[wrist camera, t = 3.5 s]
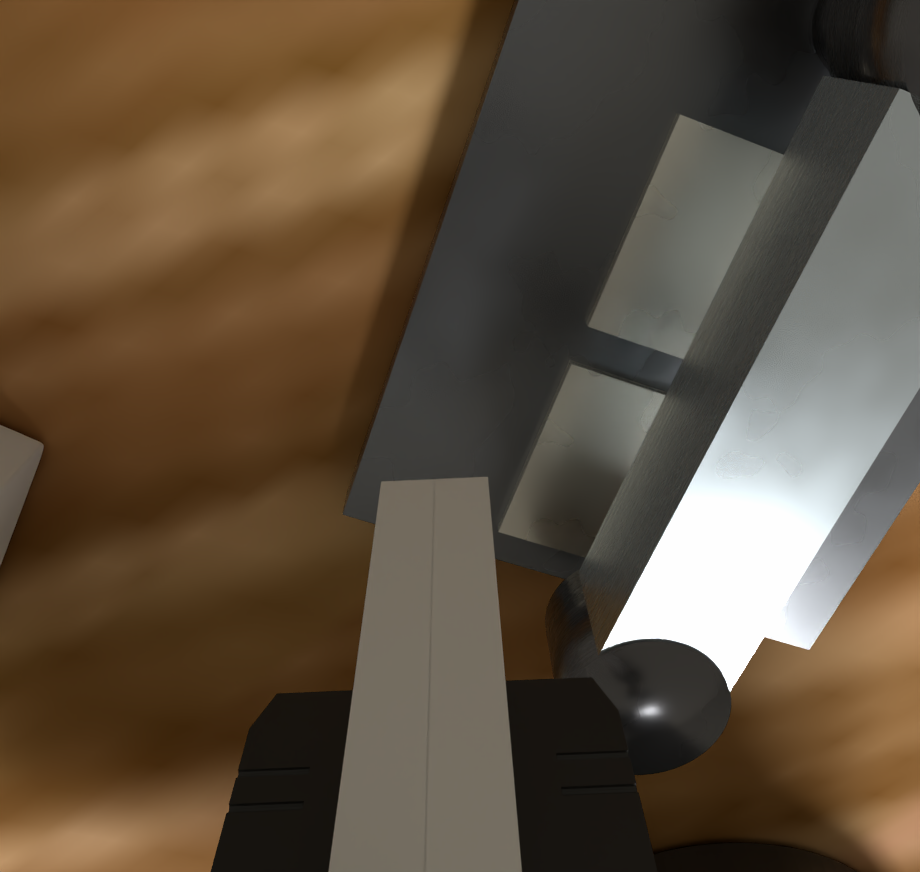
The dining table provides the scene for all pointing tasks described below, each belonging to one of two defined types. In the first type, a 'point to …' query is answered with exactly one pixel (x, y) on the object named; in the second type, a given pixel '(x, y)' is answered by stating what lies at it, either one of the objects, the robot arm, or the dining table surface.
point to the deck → (604, 271)
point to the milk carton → (15, 478)
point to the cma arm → (764, 408)
